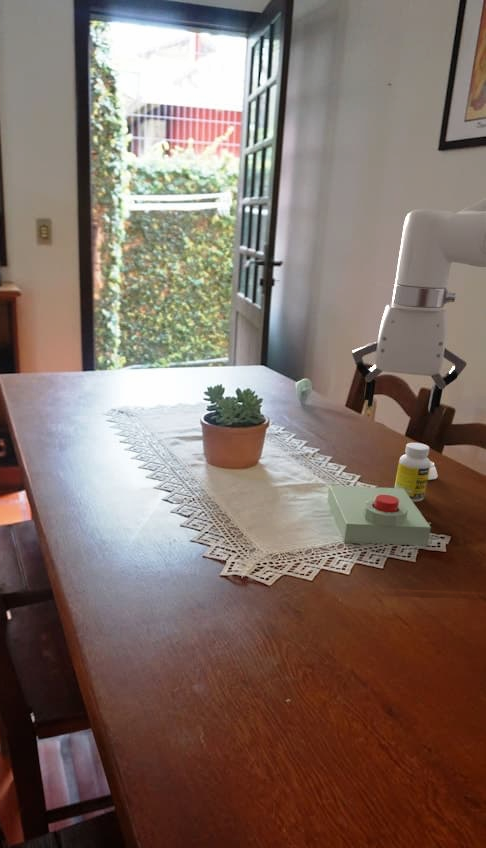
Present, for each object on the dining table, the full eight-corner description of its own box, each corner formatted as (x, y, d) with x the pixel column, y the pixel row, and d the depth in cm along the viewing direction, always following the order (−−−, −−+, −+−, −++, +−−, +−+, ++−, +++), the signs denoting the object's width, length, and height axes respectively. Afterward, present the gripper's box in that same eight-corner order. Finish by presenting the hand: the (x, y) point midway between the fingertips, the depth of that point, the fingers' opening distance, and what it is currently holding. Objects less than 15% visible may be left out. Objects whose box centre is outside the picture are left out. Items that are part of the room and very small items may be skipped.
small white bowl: (411, 479, 133) (438, 482, 132) (414, 465, 131) (441, 468, 131) (409, 471, 137) (435, 473, 136) (412, 457, 136) (438, 460, 135)
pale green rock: (290, 399, 186) (292, 375, 184) (304, 399, 187) (307, 375, 185) (301, 407, 179) (303, 382, 176) (315, 407, 180) (318, 382, 177)
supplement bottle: (415, 505, 121) (424, 452, 117) (387, 496, 124) (396, 445, 120) (429, 497, 124) (438, 446, 121) (402, 489, 128) (410, 439, 124)
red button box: (400, 505, 121) (405, 478, 119) (428, 546, 106) (433, 517, 104) (327, 502, 120) (330, 475, 118) (344, 543, 105) (348, 513, 103)
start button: (394, 505, 108) (395, 494, 108) (400, 514, 105) (401, 503, 104) (371, 504, 108) (373, 494, 108) (376, 513, 105) (378, 503, 104)
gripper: (475, 300, 105) (453, 408, 112) (360, 291, 108) (346, 397, 115) (481, 305, 98) (458, 420, 105) (359, 296, 102) (344, 408, 108)
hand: (400, 408), depth 110 cm, fingers open, 9 cm apart
